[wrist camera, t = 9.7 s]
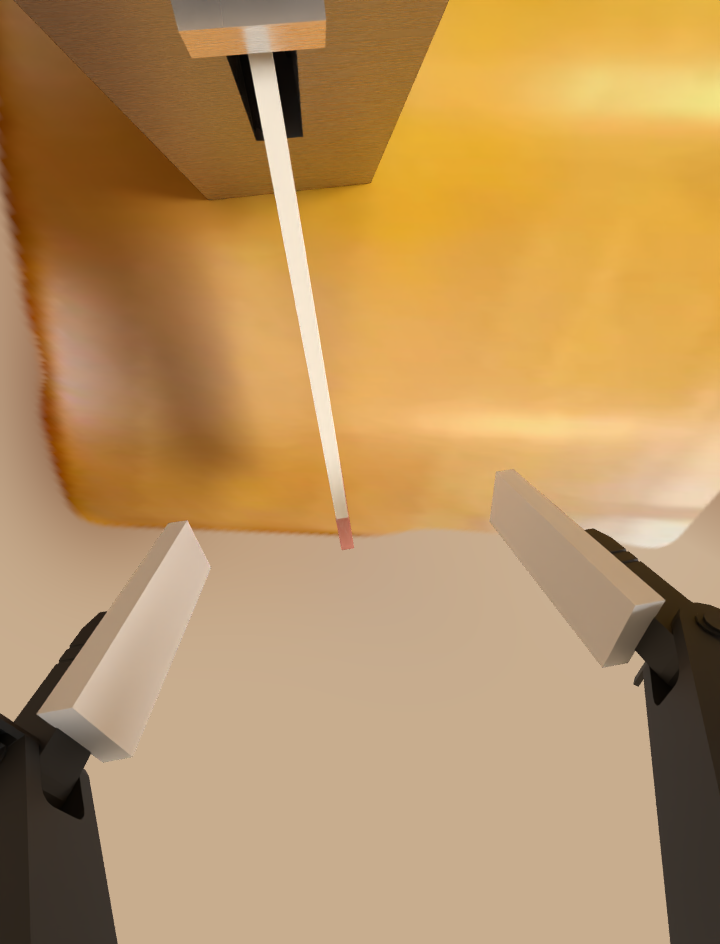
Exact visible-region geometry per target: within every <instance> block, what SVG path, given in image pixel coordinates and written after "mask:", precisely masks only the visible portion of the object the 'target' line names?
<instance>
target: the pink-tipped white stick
mask: <svg viewBox="0 0 720 944" xmlns="http://www.w3.org/2000/svg"><path fill="white" fill-rule="evenodd" d="M248 57H249V62H250V67H251V72H252V78H253V83H254V88H255V94H256V99H257V104H258V109H259V115H260V120H261V125H262V130H263V136H264V141H265V146H266V151H267V157H268V162H269V167H270V173H271V178H272V183H273V188H274V194H275V199H276V204H277V209H278V215H279V220H280V225H281V230H282V236H283V241H284V246H285V252H286V257H287V262H288V267H289V273H290V278H291V283H292V288H293V294H294V299H295V304H296V309H297V315H298V320H299V325H300V331H301V336H302V341H303V346H304V352H305V357H306V362H307V367H308V373H309V378H310V383H311V388H312V394H313V399H314V404H315V410H316V415H317V420H318V425H319V431H320V436H321V441H322V446H323V452H324V457H325V462H326V467H327V473H328V478H329V483H330V489H331V494H332V499H333V504H334V510H335V515H336V522H337V528H338V533H339V538H340V543H341V549H342V550H346V549H351V548H354V545H353V539H352V532H351V526H350V520H349V513H348V507H347V501H346V495H345V488H344V482H343V476H342V470H341V464H340V460H339V454H338V447H337V441H336V435H335V429H334V423H333V417H332V411H331V405H330V399H329V393H328V386H327V380H326V374H325V368H324V362H323V356H322V350H321V344H320V338H319V332H318V325H317V319H316V313H315V307H314V301H313V295H312V289H311V283H310V277H309V271H308V264H307V258H306V252H305V246H304V240H303V234H302V228H301V222H300V216H299V210H298V203H297V197H296V191H295V185H294V179H293V173H292V167H291V161H290V155H289V149H288V142H287V136H286V130H285V124H284V118H283V112H282V106H281V100H280V94H279V88H278V82H277V77H276V71H275V65H274V59H273V53H272V52H265V53H253V54H248Z"/></svg>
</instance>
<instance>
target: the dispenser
mask: <svg viewBox="0 0 720 944" xmlns="http://www.w3.org/2000/svg"><path fill="white" fill-rule="evenodd" d="M14 1H15V2H16V3H17V4H18V5H19V6H20V7H21V8H22V9H23V10H24V11H25V12H26V13H27V14H28V15H29V16H30V18H31V19H32V20H33V21H34V22H35V23H36V24H37V25H38V26H39V27H40V28H41V29H42V30H43V31H44V32H45V33H46V34H47V35H48V36H49V37H50V38H51V39H52V40H53V41H54V42H55V43H56V44H57V45H58V46H59V47H60V48H61V49H62V50H63V51H64V52H65V53H66V54H67V55H68V56H69V58H70V59H71V60H72V61H73V62H74V63H75V64H76V65H77V66H78V67H79V68H80V69H81V70H82V71H83V72H84V73H85V74H86V75H87V76H88V77H89V78H90V79H91V80H92V81H93V82H94V83H95V84H96V85H97V86H98V87H99V88H100V89H101V90H102V91H103V92H104V93H105V94H106V95H107V96H108V98H109V99H110V100H111V101H112V102H113V103H114V104H115V105H116V106H117V107H118V108H119V109H120V110H121V111H122V112H123V113H124V114H125V115H126V116H127V117H128V118H129V119H130V120H131V121H132V122H133V123H134V124H135V125H136V126H137V127H138V128H139V129H140V130H141V131H142V132H143V133H144V134H145V135H146V136H147V138H148V139H149V140H150V141H151V142H152V143H153V144H154V145H155V146H156V147H157V148H158V149H159V150H160V151H161V152H162V153H163V154H164V155H165V156H166V157H167V158H168V159H169V160H170V161H171V162H172V163H173V164H174V165H175V166H176V167H177V168H178V169H179V170H180V171H181V172H182V173H183V174H184V175H185V177H186V178H187V179H188V180H189V181H190V182H191V183H192V184H193V185H194V186H195V187H196V188H197V189H198V190H199V191H200V192H201V193H202V194H203V195H204V196H205V197H206V198H207V199H208V200H215V199H225V198H234V197H243V196H253V195H262V194H271V193H274V188H273V183H272V178H271V173H270V167H269V162H268V157H267V151H266V146H265V141H264V136H263V130H262V125H261V120H260V115H259V109H258V104H257V99H256V94H255V88H254V83H253V78H252V72H251V67H250V62H249V57H248V54H253V53H265V52H272V53H273V59H274V65H275V71H276V77H277V82H278V88H279V94H280V100H281V106H282V112H283V118H284V124H285V130H286V136H287V142H288V149H289V155H290V161H291V167H292V173H293V179H294V185H295V191H299V190H309V189H318V188H328V187H337V186H346V185H356V184H365V183H371V181H372V179H373V177H374V174H375V172H376V170H377V167H378V165H379V163H380V160H381V158H382V156H383V153H384V151H385V148H386V146H387V144H388V141H389V139H390V137H391V134H392V132H393V130H394V127H395V125H396V123H397V120H398V118H399V116H400V113H401V111H402V109H403V106H404V104H405V102H406V99H407V97H408V95H409V92H410V90H411V88H412V85H413V83H414V81H415V78H416V76H417V74H418V71H419V69H420V67H421V64H422V62H423V60H424V57H425V55H426V53H427V50H428V48H429V46H430V43H431V41H432V39H433V36H434V34H435V32H436V29H437V27H438V25H439V22H440V20H441V18H442V15H443V13H444V11H445V8H446V6H447V4H448V1H449V0H14Z"/></svg>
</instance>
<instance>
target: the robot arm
mask: <svg viewBox="0 0 720 944" xmlns="http://www.w3.org/2000/svg"><path fill="white" fill-rule="evenodd" d="M490 523H491V524H492V526H493V527H494V528H495V529H496V531H497V532H498V533H499V535H500V536H501V537H502V538H503V540H504V541H505V542H506V544H507V545H508V546H509V547H510V548H511V550H512V551H513V552H514V554H515V555H516V557H517V558H518V559H519V560H520V562H521V563H522V564H523V566H524V567H525V568H526V570H527V571H528V572H529V573H530V575H531V576H532V577H533V579H534V580H535V581H536V582H537V584H538V585H539V586H540V588H541V589H542V590H543V591H544V593H545V594H546V595H547V596H548V598H549V599H550V600H551V602H552V603H553V604H554V606H555V607H556V608H557V610H558V611H559V612H560V613H561V615H562V616H563V617H564V618H565V620H566V621H567V623H568V624H569V625H570V626H571V628H572V629H573V630H574V631H575V633H576V634H577V635H578V637H579V638H580V639H581V641H582V642H583V643H584V644H585V646H586V647H587V648H588V650H589V651H590V652H591V653H592V655H593V656H594V657H595V659H596V660H597V661H598V662H599V664H600V665H601V666H602V668H603V667H609V666H614V665H620V664H625V663H628V662H629V660H630V659H631V657H632V655H633V654H634V652H635V651H636V652H637V653H638V654H639V655H640V656H641V657H642V658H643V659H644V660H645V663H644V665H643V666H642V667H641V669H640V670H639V672H638V674H637V675H636V677H635V679H634V685H636V686H639V685H640V684H641V682H642V681H643V679H644V688H645V697H646V707H647V717H648V727H649V737H650V746H651V756H652V766H653V776H654V786H655V796H656V806H657V815H658V825H659V835H660V844H661V855H662V865H663V875H664V884H665V894H666V903H667V914H668V924H669V933H670V943H671V944H720V609H719V608H716V607H714V606H711V605H707V604H701V603H693V602H691V601H690V600H688V599H687V598H686V597H684V596H683V595H682V594H681V593H680V592H678V591H677V590H676V589H675V588H673V587H672V586H671V585H669V584H668V583H667V582H666V581H664V580H663V579H662V578H661V577H660V576H658V575H657V574H656V573H655V572H653V571H652V570H651V569H650V568H648V567H647V566H646V565H645V564H644V563H642V562H641V561H640V562H639V561H638V559H637V558H636V557H635V556H634V555H632V554H631V553H630V552H627V551H626V549H625V548H624V547H622V546H621V545H620V544H619V543H617V542H616V541H615V540H614V539H613V538H611V537H609V536H607V535H605V534H603V533H601V532H599V531H597V530H595V529H587V530H583V529H582V528H581V527H580V526H579V525H578V524H576V523H575V522H574V521H573V520H572V519H571V518H570V517H568V516H567V515H566V514H565V513H564V512H563V511H561V510H560V509H559V508H558V507H557V506H556V505H554V504H553V503H552V502H551V501H550V500H549V499H547V498H546V497H545V496H544V495H543V494H542V493H540V492H539V491H538V490H537V489H536V488H535V487H534V486H532V485H531V484H530V483H529V482H528V481H527V480H525V479H524V478H523V477H522V476H521V475H520V474H518V473H517V472H516V471H515V470H514V469H510V470H504V471H498V472H496V476H495V484H494V491H493V499H492V507H491V514H490ZM210 569H211V567H210V565H209V563H208V561H207V559H206V557H205V555H204V553H203V551H202V549H201V547H200V545H199V543H198V541H197V539H196V537H195V535H194V533H193V531H192V529H191V527H190V525H189V523H188V521H187V520H186V521H180V522H174V523H168V525H167V526H166V527H165V529H164V530H163V532H162V533H161V535H160V536H159V538H158V539H157V541H156V542H155V543H154V545H153V546H152V548H151V549H150V551H149V552H148V554H147V555H146V557H145V558H144V559H143V561H142V562H141V564H140V565H139V566H138V568H137V569H136V571H135V572H134V574H133V575H132V577H131V578H130V580H129V581H128V583H127V584H126V585H125V587H124V588H123V590H122V591H121V593H120V594H119V596H118V597H117V598H116V600H115V601H114V603H113V604H112V606H111V607H110V609H109V610H108V611H106V612H100V613H99V614H98V615H97V616H95V617H94V618H93V619H92V620H91V621H90V622H89V623H88V624H87V625H86V626H85V627H83V628H82V629H81V631H80V632H79V634H78V635H77V636H76V638H75V639H74V641H73V642H72V643H71V645H70V648H69V649H67V650H66V651H65V653H64V654H63V655H62V657H61V658H60V660H59V663H58V664H56V665H55V666H54V668H53V669H52V670H51V672H50V673H49V675H48V676H47V677H46V679H45V680H44V681H43V683H42V684H41V685H40V687H39V688H38V690H37V691H36V692H35V694H34V695H33V696H32V698H31V699H30V701H29V702H28V703H27V705H26V706H25V707H24V709H23V710H22V711H21V713H20V714H19V716H18V717H17V718H16V720H15V721H14V722H12V721H11V720H9V719H8V718H6V717H5V716H3V715H2V714H0V944H117V938H116V932H115V926H114V920H113V915H112V909H111V903H110V897H109V892H108V885H107V879H106V874H105V868H104V862H103V856H102V851H101V845H100V839H99V834H98V827H97V822H96V816H95V810H94V804H93V798H92V792H91V787H90V780H89V776H88V774H87V772H86V770H85V769H83V768H84V766H85V764H86V762H87V760H88V758H89V756H90V754H92V755H93V756H95V757H96V758H98V759H99V760H100V761H102V762H108V761H113V760H119V759H124V758H129V757H133V755H134V752H135V750H136V748H137V745H138V743H139V740H140V738H141V736H142V733H143V731H144V728H145V726H146V723H147V721H148V719H149V716H150V714H151V711H152V709H153V707H154V704H155V701H156V699H157V697H158V694H159V692H160V690H161V687H162V685H163V682H164V680H165V677H166V675H167V673H168V670H169V668H170V665H171V663H172V660H173V658H174V656H175V653H176V651H177V649H178V646H179V644H180V641H181V639H182V636H183V634H184V632H185V629H186V626H187V624H188V622H189V619H190V617H191V615H192V612H193V610H194V608H195V605H196V603H197V600H198V598H199V595H200V593H201V590H202V588H203V586H204V583H205V581H206V578H207V576H208V574H209V571H210Z"/></svg>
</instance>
